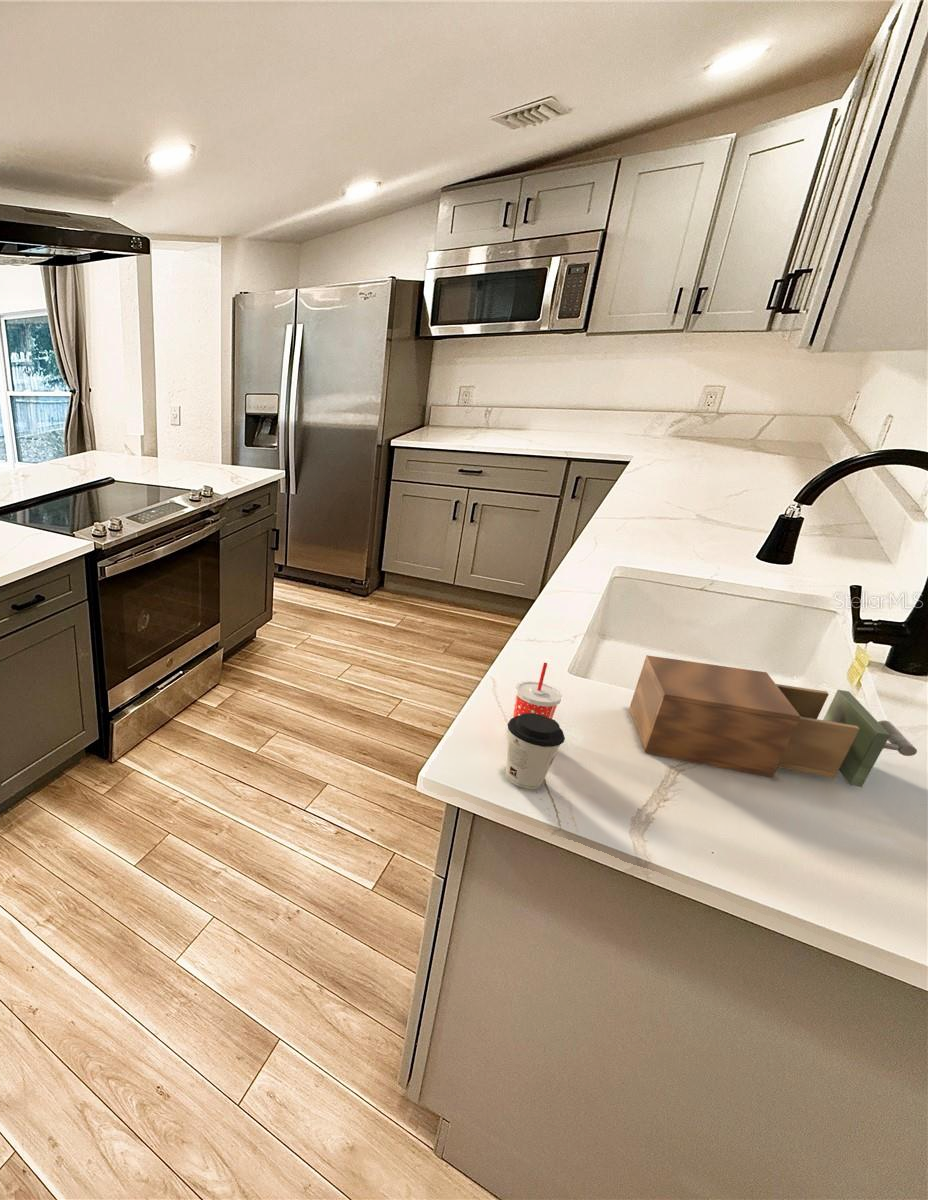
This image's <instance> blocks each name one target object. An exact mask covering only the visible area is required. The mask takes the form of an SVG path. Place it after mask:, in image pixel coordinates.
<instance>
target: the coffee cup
mask: <svg viewBox="0 0 928 1200" xmlns="http://www.w3.org/2000/svg"><path fill="white" fill-rule="evenodd" d="M507 730H508V732H507V733H508V735H507V736H508V738H507V750H506V765H505V777H506V778H507V780H508V781H509V782H510V783H512V784H513V785H515V786H516V787H519V788H521V789H527V790H536V789H539V788H541V787H542V785H543V783H544V781H545V778H546V777H547V774H548V772H549V770H550V768H551V766H552V763H553V761H554V759H555V758H556V755H557V753H558V752H559V748H560V747H561V745H562V744H563V743H565V740H566V737H565V733H564V731H563V729H562V728H561V726H560V724H559V723H558V721H556V720H555V719H553V718H552V719H551V718H548V717H545V716H542V715H539V714H534V713H525V714H522V715H520V716H515V717H514V718H513V717H512V718H510V720H509V721H508V722H507Z"/></svg>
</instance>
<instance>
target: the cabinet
mask: <svg viewBox="0 0 928 1200" xmlns="http://www.w3.org/2000/svg"><path fill="white" fill-rule="evenodd" d="M776 684H777V683H775V681H774V680H773V679H772V677H771V676H770V674H769V673H768V672H766V671H760V670H754V669H747V668H746V669H745V668H740V667H732V666H725V665H720V664H719V665H717V664H711V663H710V664H709V663H706V662H705V663H704V662H698V661H689V660H682V659H677V658H669V657H661V656H655V655H645V659H644V661H643V665H642V667H641V671H640V674H639V677H638V680H637V683H636V686H635V689H634V692H633V696H632V699H631V700H630V701H631V702H630V705H629V707H628V710H629V713H630V715H631V719H632V721H633V724H634V727H635V730H636V733H637V735H638V738H639V741H640V743H641V746H642V749H643V752H644V753H647V754H652V755H657V756H660V757H661V756H662V757H666V758H672V759H677V760H682V761H687V762H692V763H697V764H703V765H707V766H712V767H717V768H722V769H727V770H732V771H737V772H743V773H748V774H752V775H758V776H763V777H767V778H773V777H774V775H775V773H776V770H777V768H778V767H777V766H778V764H779V762H780V760H781V758H782V756H783V753H784V751H785V749H786V747H787V745H788V743H789V740H790V738H791V736H792V734H793V732H794V730H795V727H796V725H797V723H798V721H799V719H800V715H799V714H798V712H797V711H796V710H795V709H794V707H793V706H792V705H791V703H790V702H789V701H788V699H787V698H786V697H785V696H784V694H783V693H782V692H781V690H780V689H779V688H778V687H777V685H776Z"/></svg>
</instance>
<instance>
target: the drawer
mask: <svg viewBox="0 0 928 1200" xmlns="http://www.w3.org/2000/svg"><path fill="white" fill-rule="evenodd" d="M775 684H776V685H777V687H778V688H779V689H780V690H781V692H782V693H783V694H784V696H785V697H786V698H787V699H788V701H789V702H790V703H791V705H792V706H793V707H794V709H795V710H796V711H797V712H798V714H799V715H800V719H799V721H798V723H797V725H796V727H795V730H794V732H793V734H792V736H791V738H790V740H789V743H788V745H787V747H786V749H785V751H784V753H783V756H782V758H781V760H780V762H779V764H778V766H777V768H783V769H787V770H793V771H799V772H804V773H808V774H814V775H818V776H819V775H820V776H824V777H830V778H836V776H837V775H838V772H839V773H840V774H841V776H842V777H843V778H844V779H845V781H846V783H848V784H849V786H853V787H858V788H863V786H864V784H865V782H866V781H867V779H868V777H869V775H870V773H871V771H872V770H873V767H874V766H875V764H876V762H877V760H878V758H879V757H880V755H881V753H882V751H883V749H887V750H892V751H897V752H898V753H899V754H900V755H902V756H904V757H911V756H914V755H916V754H917V753H918V749H917V748H916V747H915V746H914V745H913V744H912V743H911V742H910V740H908V739H907V738H906V736H904V735H903V734H902V732H901V731H900V730H899V729H898V728H896V726H895V725H894V724H893V723H892V722H891V721H889V720H879V721H878V720H877V719H876V718H875V717H874V716H873V715H872V714H871V713H870V712H869V711H868V710H867V708H865V706H863V704H862V703H861V702H860V701H859V700H858V699H857V698H856V697H855V696H854V695H853V694H852V693H851V692H850V691H849V690H842V689H837V690H836V692H835V694H834V697H833V698H832V700H831V703H830V704H829V707H828V709H827V711H826V713H825V715H824V718H823V719H818V718H819V716H820V714H821V712H822V709H823V708H824V705H825V703H826V701H827V699H828V697H829V695H830V694H829V692H828V691H826V690H820V689H813V688H807V687H800V686H793V685H785V684H780V683H779V684H778V683H775Z"/></svg>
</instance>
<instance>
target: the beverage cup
mask: <svg viewBox="0 0 928 1200" xmlns="http://www.w3.org/2000/svg"><path fill="white" fill-rule="evenodd" d="M547 668H548V663H547V662H543V665H542V668H541V673H540V676H539V681H533V680H525V681H520V682H518V683H517V684H516V686H515V690H514V693H515V701H514V708H513V715H512V718H514V717H515V716H520V715H522V714H525V713H534V714H539V715H542V716H545V717H548V718H551V719H553V718H554V714H555V712H556V709H557V706H558V705H559V704H560V703H561V700H562V698H563V694H562V693H561V691H560V690H558V689H557V688H556V687H555V686H552V685H549V684H548V683H544V679H545V675H546V671H547Z"/></svg>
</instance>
